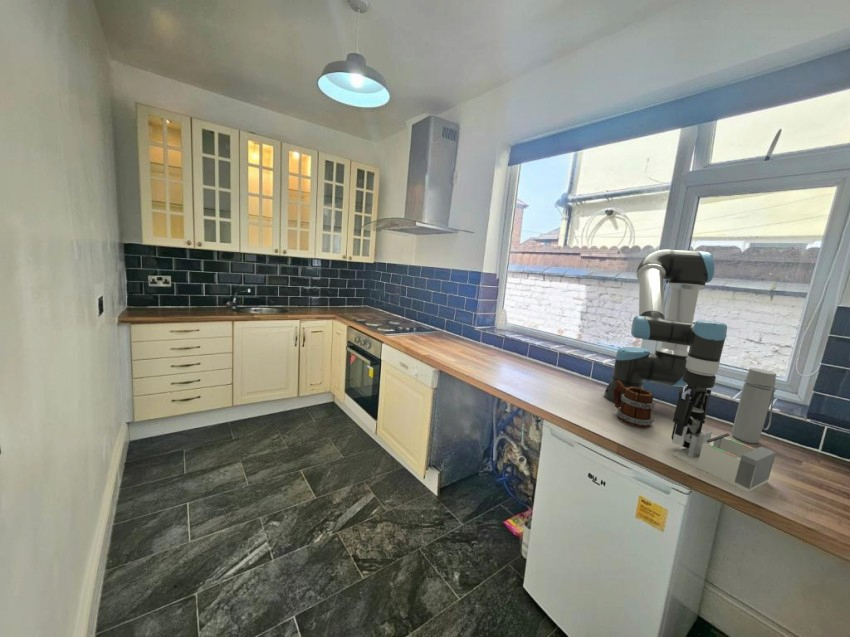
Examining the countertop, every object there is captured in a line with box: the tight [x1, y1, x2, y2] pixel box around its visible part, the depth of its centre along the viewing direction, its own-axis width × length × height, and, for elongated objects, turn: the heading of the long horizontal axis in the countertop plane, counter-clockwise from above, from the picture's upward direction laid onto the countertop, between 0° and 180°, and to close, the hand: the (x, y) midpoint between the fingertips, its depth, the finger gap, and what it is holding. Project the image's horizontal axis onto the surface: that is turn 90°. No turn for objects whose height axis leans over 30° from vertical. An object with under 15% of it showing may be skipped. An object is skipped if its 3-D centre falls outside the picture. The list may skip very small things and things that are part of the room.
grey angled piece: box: [687, 430, 731, 458], centre depth 99 cm, size 12×7×8 cm, turn 117°
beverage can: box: [671, 407, 705, 448], centre depth 105 cm, size 7×7×12 cm
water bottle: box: [731, 367, 778, 444], centre depth 116 cm, size 9×8×25 cm
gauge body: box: [672, 437, 777, 493], centre depth 97 cm, size 12×18×9 cm, turn 27°
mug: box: [614, 380, 656, 429], centre depth 126 cm, size 12×14×15 cm
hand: (684, 442), depth 106 cm, fingers closed on beverage can, 7 cm apart
